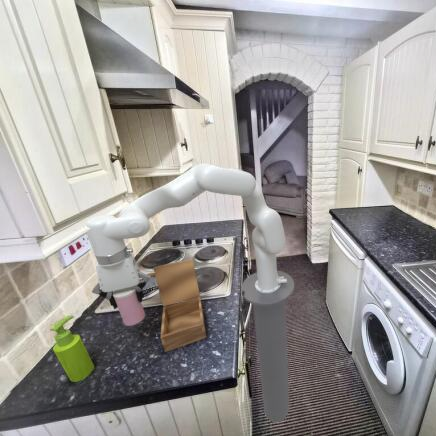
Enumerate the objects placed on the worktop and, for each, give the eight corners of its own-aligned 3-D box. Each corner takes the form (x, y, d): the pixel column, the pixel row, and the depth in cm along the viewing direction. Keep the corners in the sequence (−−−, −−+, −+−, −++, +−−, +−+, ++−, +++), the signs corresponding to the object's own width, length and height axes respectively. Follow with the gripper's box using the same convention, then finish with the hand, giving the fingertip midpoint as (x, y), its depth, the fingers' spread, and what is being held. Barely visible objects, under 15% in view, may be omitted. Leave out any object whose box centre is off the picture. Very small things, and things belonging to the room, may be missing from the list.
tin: (162, 284, 113) (158, 269, 110) (163, 287, 111) (159, 272, 108) (126, 296, 105) (120, 281, 102) (126, 300, 103) (120, 285, 100)
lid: (192, 259, 90) (192, 254, 95) (153, 267, 85) (155, 262, 90) (200, 296, 94) (199, 289, 99) (162, 306, 89) (164, 299, 94)
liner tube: (148, 311, 81) (140, 283, 77) (139, 325, 75) (129, 296, 71) (130, 312, 81) (120, 284, 76) (119, 326, 75) (108, 297, 71)
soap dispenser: (101, 360, 76) (79, 314, 69) (83, 382, 70) (57, 333, 62) (84, 360, 76) (61, 314, 69) (64, 381, 70) (36, 333, 62)
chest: (206, 337, 84) (203, 323, 81) (164, 352, 78) (160, 337, 76) (202, 309, 97) (200, 296, 94) (167, 320, 92) (163, 307, 89)
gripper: (147, 244, 76) (159, 288, 82) (81, 256, 69) (100, 303, 76) (143, 254, 69) (157, 302, 76) (71, 269, 63) (93, 319, 69)
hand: (129, 302), depth 76 cm, fingers closed on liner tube, 6 cm apart
